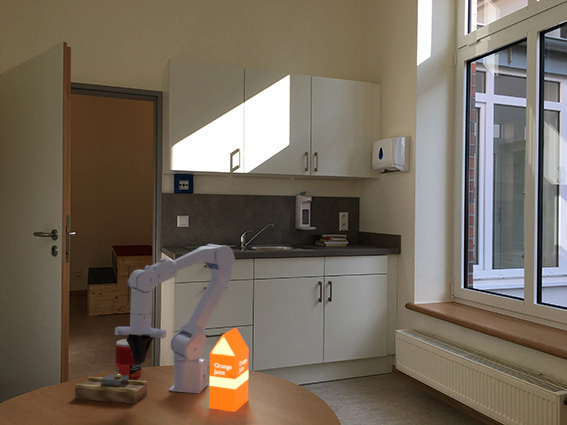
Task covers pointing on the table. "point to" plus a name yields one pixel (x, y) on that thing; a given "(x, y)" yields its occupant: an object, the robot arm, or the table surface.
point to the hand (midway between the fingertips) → (139, 362)
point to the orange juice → (229, 372)
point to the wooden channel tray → (111, 391)
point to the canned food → (126, 360)
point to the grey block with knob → (115, 380)
